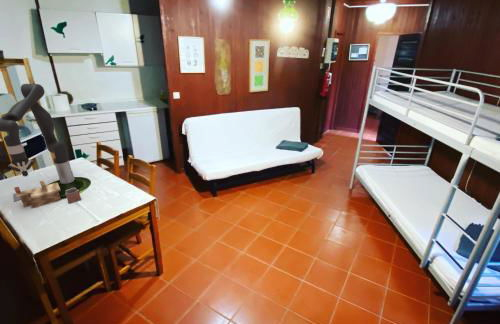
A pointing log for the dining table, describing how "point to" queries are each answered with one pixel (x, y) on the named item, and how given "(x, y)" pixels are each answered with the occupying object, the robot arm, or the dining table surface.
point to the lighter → (72, 195)
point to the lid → (44, 189)
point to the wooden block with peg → (19, 193)
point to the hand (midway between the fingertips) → (25, 175)
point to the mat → (16, 197)
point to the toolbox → (40, 199)
